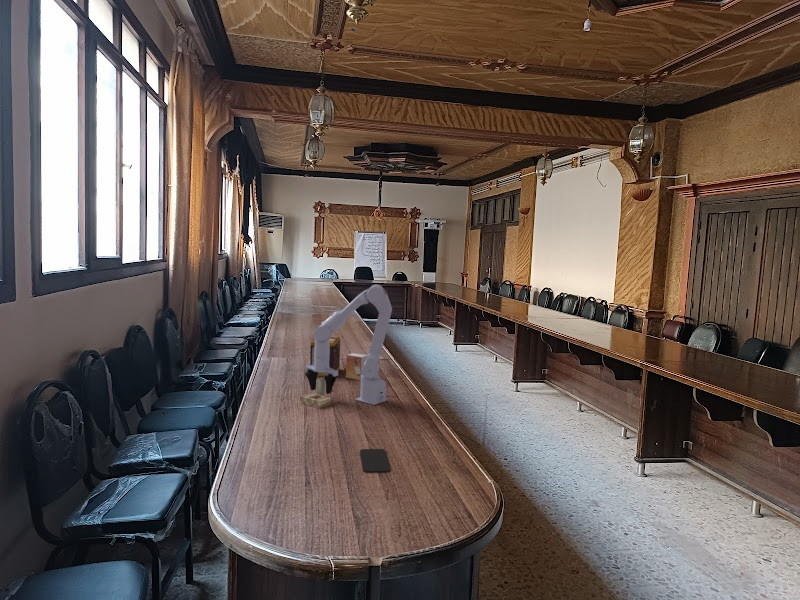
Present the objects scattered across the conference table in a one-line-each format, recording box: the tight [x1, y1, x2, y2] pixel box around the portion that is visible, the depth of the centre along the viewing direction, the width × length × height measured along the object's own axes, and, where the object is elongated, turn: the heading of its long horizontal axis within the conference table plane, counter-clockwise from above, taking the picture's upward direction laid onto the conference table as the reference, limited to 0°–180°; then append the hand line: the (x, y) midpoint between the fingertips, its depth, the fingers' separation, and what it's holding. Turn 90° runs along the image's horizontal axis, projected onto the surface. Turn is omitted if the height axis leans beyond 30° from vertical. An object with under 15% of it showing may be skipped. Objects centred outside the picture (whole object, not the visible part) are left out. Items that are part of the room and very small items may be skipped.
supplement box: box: [309, 335, 341, 377], centre depth 247 cm, size 10×15×16 cm
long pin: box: [317, 377, 326, 396], centre depth 207 cm, size 3×3×8 cm
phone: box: [359, 448, 391, 474], centre depth 151 cm, size 7×1×15 cm
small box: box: [345, 352, 368, 382], centre depth 239 cm, size 8×6×10 cm
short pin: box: [330, 390, 339, 404], centre depth 204 cm, size 3×3×4 cm
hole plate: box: [299, 392, 332, 409], centre depth 200 cm, size 10×6×2 cm, turn 55°
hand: (320, 391), depth 208 cm, fingers open, 7 cm apart
